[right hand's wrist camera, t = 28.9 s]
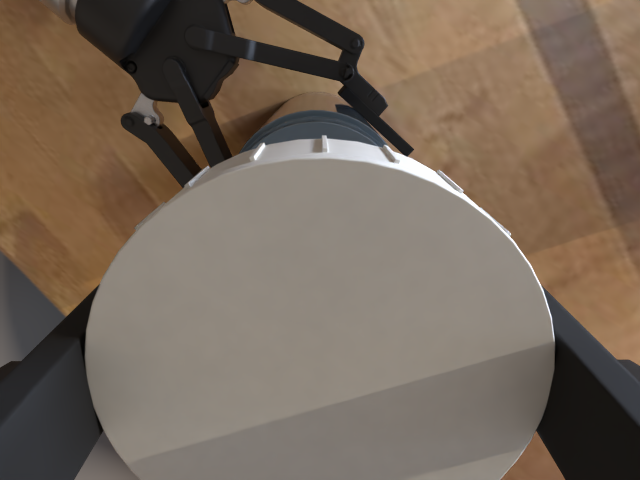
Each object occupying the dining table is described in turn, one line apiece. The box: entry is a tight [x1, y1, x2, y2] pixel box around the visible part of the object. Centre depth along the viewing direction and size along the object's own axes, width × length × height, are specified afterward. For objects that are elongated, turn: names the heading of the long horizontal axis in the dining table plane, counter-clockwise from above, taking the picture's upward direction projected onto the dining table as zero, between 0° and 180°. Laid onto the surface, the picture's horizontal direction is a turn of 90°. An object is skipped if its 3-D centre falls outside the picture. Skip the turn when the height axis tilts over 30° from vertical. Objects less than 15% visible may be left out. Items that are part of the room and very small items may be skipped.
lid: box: [85, 135, 555, 480], centre depth 11 cm, size 11×11×2 cm
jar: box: [239, 92, 389, 154], centre depth 31 cm, size 10×10×19 cm
